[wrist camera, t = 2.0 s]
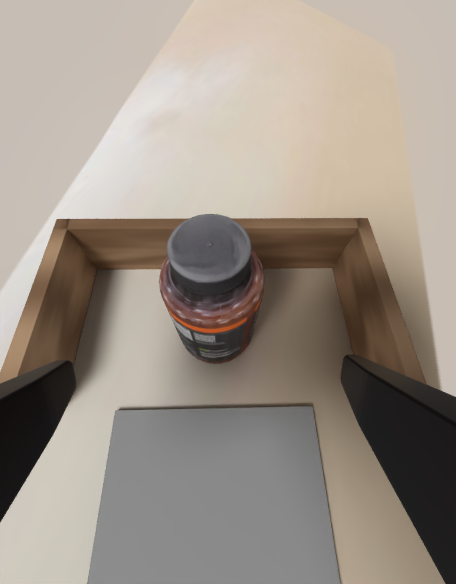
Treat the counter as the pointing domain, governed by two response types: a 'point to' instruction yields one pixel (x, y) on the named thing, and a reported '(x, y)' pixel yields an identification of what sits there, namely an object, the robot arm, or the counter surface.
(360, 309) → the open wooden enclosure
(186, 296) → the supplement bottle
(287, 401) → the counter surface
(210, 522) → the mat
